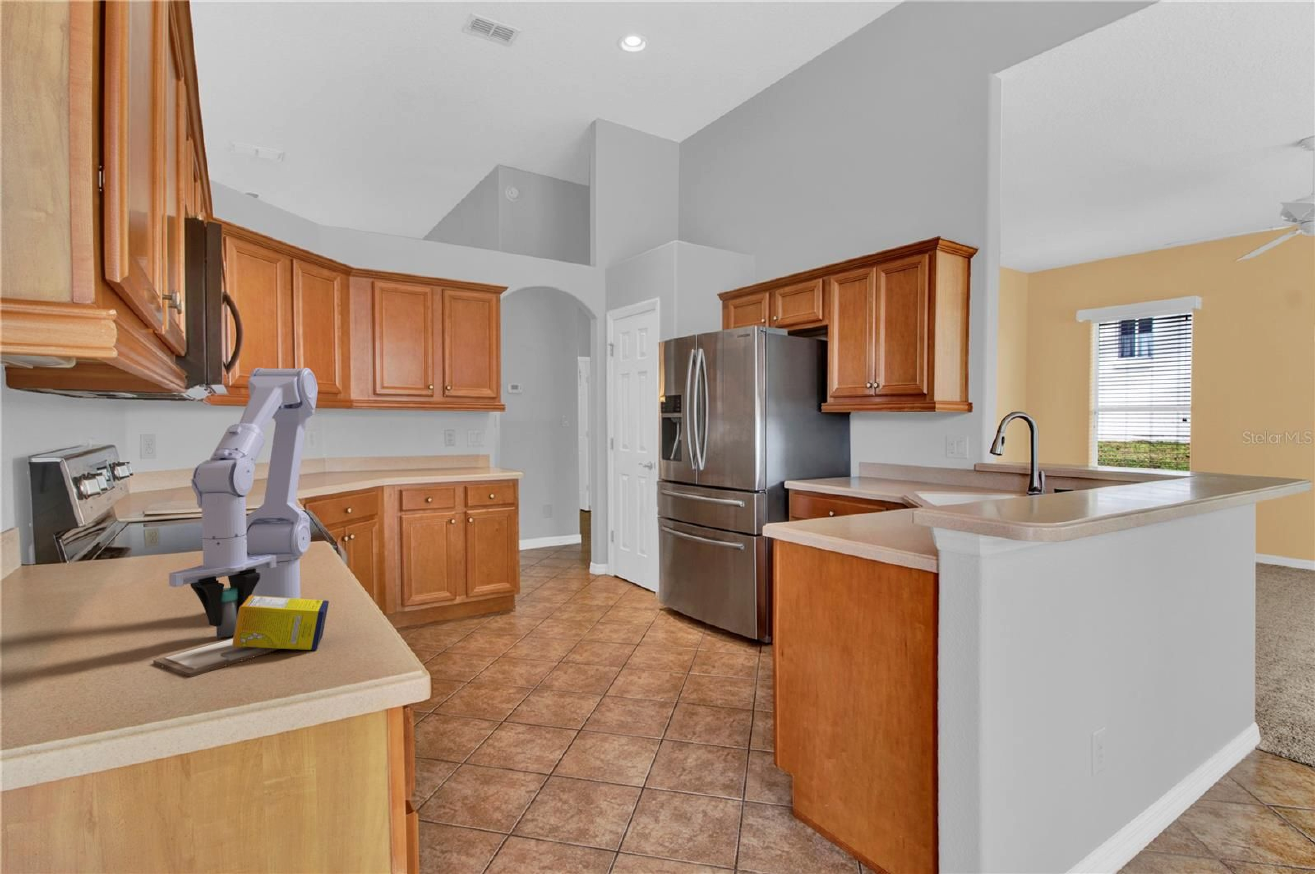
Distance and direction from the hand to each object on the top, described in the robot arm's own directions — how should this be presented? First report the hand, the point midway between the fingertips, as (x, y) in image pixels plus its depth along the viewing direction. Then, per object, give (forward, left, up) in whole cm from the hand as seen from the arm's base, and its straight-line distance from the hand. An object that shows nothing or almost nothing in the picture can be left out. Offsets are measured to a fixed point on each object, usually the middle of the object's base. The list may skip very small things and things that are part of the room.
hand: (227, 622), depth 99 cm
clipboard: (+8, -3, -2) cm, 9 cm away
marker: (0, 0, -2) cm, 2 cm away
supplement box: (+17, +5, 0) cm, 18 cm away
